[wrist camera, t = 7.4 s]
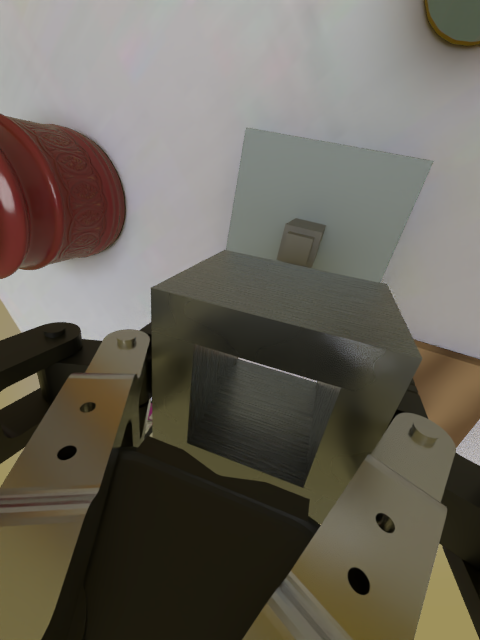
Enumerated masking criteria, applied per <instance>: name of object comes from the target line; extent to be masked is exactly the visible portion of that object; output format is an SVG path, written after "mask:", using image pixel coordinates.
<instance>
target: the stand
mask: <svg viewBox="0 0 480 640" xmlns="http://www.w3.org/2000/svg"><path fill="white" fill-rule="evenodd" d="M414 342H415V344H416V346H417V348H418V350H419V352H420V354H421V356H422V361H421V363H420V365H419V367H418V369H417V371H416V372H415V374H414V376H413V380H414V382H415V386H416V388H417V390H418V394H419V395H420V398H421V401H422V403H423V406H424V409H425V411H426V414H427V417H428V419H429V420H431V421H432V422H434V423H436V424H437V425H438V426H440V427H441V428H442V429H443V430H445V431H446V432H447V433H448V435H449V436H450V437H451V438H452V440H453V442H454V444H455V447H457V446H458V445H459V444H460V442H461V441H462V440H463V439H464V437H465V436H466V435H467V434H468V433H469V431H470V430H471V429H472V428H473V426H474V425H475V424H476V423H477V421H478V420H479V419H480V359H476V358H473V357H470V356H466V355H463V354H460V353H456V352H453V351H450V350H446V349H443V348H440V347H436V346H433V345H430V344H426V343H423V342H420V341H416V340H414Z"/></svg>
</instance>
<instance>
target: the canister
mask: <svg viewBox="0 0 480 640" xmlns="http://www.w3.org/2000/svg"><path fill="white" fill-rule="evenodd" d="M124 216H125V202H124V195H123V190H122V186H121V183H120V180H119V177H118V175H117V172H116V170H115V168H114V166H113V165H112V163H111V161H110V160H109V158H108V157H107V155H106V154H105V153H104V152H103V151H102V149H101V148H100V147H99V146H98V145H96V144H95V143H94V142H93V141H92V140H90V139H89V138H87V137H85V136H84V135H81V134H79V133H78V132H76V131H74V130H72V129H69V128H66V127H63V126H58V125H54V124H39V123H35V122H30V121H26V120H21V119H17V118H12V117H8V116H4V115H2V114H0V279H3V278H6V277H8V276H10V275H12V274H13V273H14V272H16V271H17V270H18V268H19V269H23V270H36V269H40V268H43V267H45V266H47V265H49V264H53V263H57V262H61V261H65V260H69V259H73V258H81V257H88V256H91V255H95V254H97V253H99V252H101V251H103V250H104V249H106V248H108V247H109V246H111V245H112V244H113V243H114V242H115V240H116V239H117V238H118V236H119V234H120V232H121V229H122V226H123V222H124Z"/></svg>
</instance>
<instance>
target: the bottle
mask: <svg viewBox="0 0 480 640" xmlns="http://www.w3.org/2000/svg"><path fill="white" fill-rule="evenodd" d="M425 7H426V13H427V17H428V20H429V22H430V24H431V26H432V27H433V29H434V30H435V32H436V33H437V34H438V35H439V36H440V37H442V38H443V39H445V40H446V41H448V42H450V43H452V44H458V45H465V46H472V45H477V44H480V0H425Z"/></svg>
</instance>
